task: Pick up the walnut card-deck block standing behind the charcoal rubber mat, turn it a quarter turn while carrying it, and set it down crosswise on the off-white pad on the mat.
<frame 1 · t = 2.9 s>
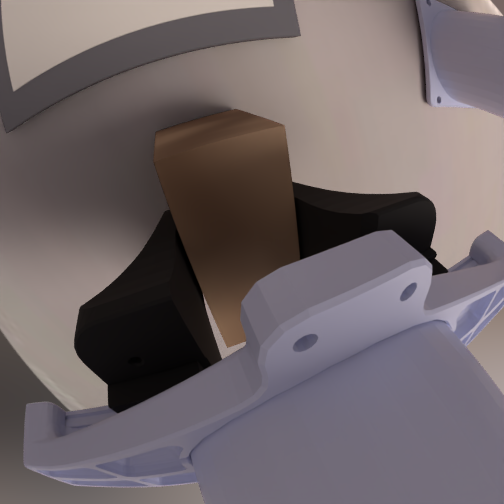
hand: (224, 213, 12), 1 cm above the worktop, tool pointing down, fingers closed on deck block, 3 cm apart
deck block: (217, 200, 13), on the worktop, touching gripper
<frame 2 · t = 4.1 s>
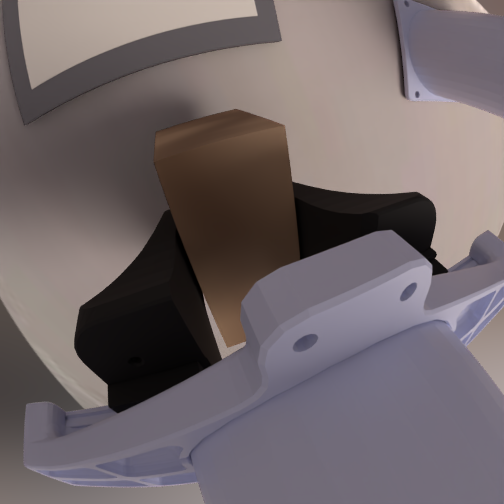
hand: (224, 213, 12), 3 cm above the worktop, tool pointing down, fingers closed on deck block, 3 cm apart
deck block: (217, 200, 13), point 2 cm above the worktop, touching gripper
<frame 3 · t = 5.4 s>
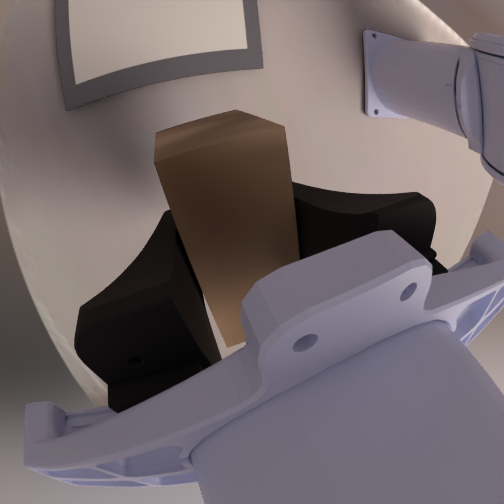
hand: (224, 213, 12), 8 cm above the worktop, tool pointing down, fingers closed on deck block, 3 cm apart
deck block: (217, 201, 13), point 7 cm above the worktop, touching gripper
mat: (155, 14, 11), on the worktop
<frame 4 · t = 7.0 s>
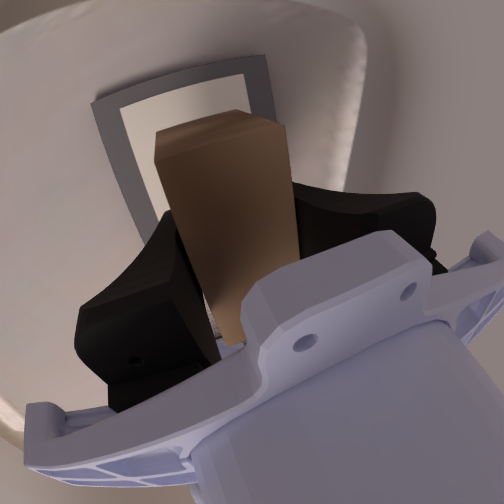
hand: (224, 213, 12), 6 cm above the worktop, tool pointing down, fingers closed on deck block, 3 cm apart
deck block: (217, 200, 13), point 5 cm above the worktop, touching gripper
mat: (202, 172, 16), on the worktop
when the fingers open (3 cm above the worktop, at t = 8.3 s): deck block drops 1 cm, resting on mat.
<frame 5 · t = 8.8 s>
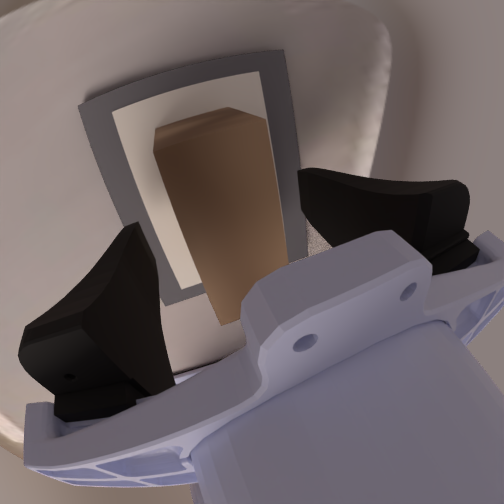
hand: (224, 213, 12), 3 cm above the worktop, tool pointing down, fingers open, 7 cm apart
deck block: (212, 191, 14), point 1 cm above the worktop, touching mat
mat: (210, 186, 14), on the worktop
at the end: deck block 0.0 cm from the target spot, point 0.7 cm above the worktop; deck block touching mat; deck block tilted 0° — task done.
